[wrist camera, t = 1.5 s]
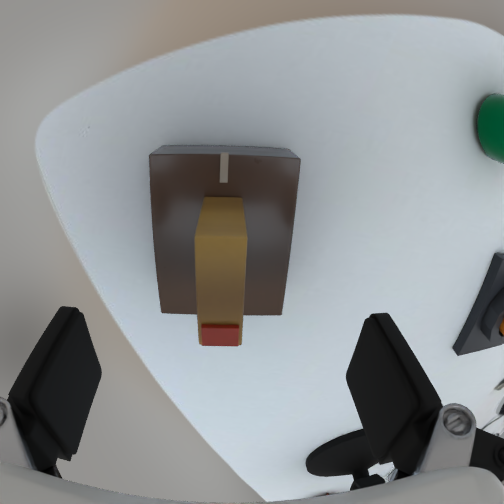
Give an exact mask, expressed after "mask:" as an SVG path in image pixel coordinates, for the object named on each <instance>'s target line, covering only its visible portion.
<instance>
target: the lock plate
mask: <svg viewBox="0 0 504 504" xmlns="http://www.w3.org/2000/svg"><path fill="white" fill-rule="evenodd" d="M300 162H301V159H300V158H299V157H298V156H297V155H295V154H294V153H293V152H292V151H291V150H289V149H282V148H267V147H248V146H217V145H165V146H161V147H160V148H158V149H157V150H156V151H154V152H153V153H151V154H150V155H149V167H150V194H151V212H152V227H153V240H154V252H155V262H156V272H157V282H158V290H159V298H160V306H161V312H162V313H171V314H197V300H196V276H195V243H194V237H195V232H196V228H197V224H198V220H199V216H200V212H201V208H202V204H203V200H204V197H237V198H242V199H243V207H244V215H245V222H246V230H247V238H248V240H247V257H246V275H245V292H244V310H243V315H282V309H283V302H284V295H285V288H286V281H287V273H288V265H289V258H290V250H291V242H292V234H293V225H294V217H295V208H296V199H297V190H298V181H299V172H300Z"/></svg>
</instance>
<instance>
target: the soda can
mask: <svg viewBox="0 0 504 504" xmlns="http://www.w3.org/2000/svg"><path fill="white" fill-rule="evenodd" d="M477 132H478V137H479V140H480V143H481V145H482V147H483V149H484V151H485V153H486V154H487V155H488V156H489V157H490V158H491V159H493V160H495V161H498V162H500V163H503V164H504V95H503V94H492V95H490V96H488V97H487V98H486V99H485V101H484V102H483V103H482V105H481V107H480V109H479V112H478V117H477Z"/></svg>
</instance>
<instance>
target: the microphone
mask: <svg viewBox="0 0 504 504" xmlns="http://www.w3.org/2000/svg"><path fill="white" fill-rule="evenodd" d="M378 462H379V461H378V458H374V457H373V455H372V452H371V449H370V446H369V443H368V440H367V438H366V435H365V432H364V429H362V430H359V431H355V432H352V433H349V434H346V435H344V436H341V437H339V438H336V439H334V440H332V441H330V442H328V443H326V444H324V445H322V446H321V447H319V448H318V449H316V450H315V451H314V452H312V453H311V454H310V455H309V457H308V458H307V460H306V467H307V471H308V472H309V473H311V474H313V475H316V476H324V477H328V476H341V475H350V474H352V475H353V478H354V481H353V483H352V486H351V488H350V491H353V490H357V489H362V488H366V487H371V486H375V485H379V484H383V483H385V480H384V479H383V478H382V477H381V476H379V475H378V474H374V475H371V476H369V472H368V469H369V468H370V467H372V466H373V465H375V464H377V463H378Z"/></svg>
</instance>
